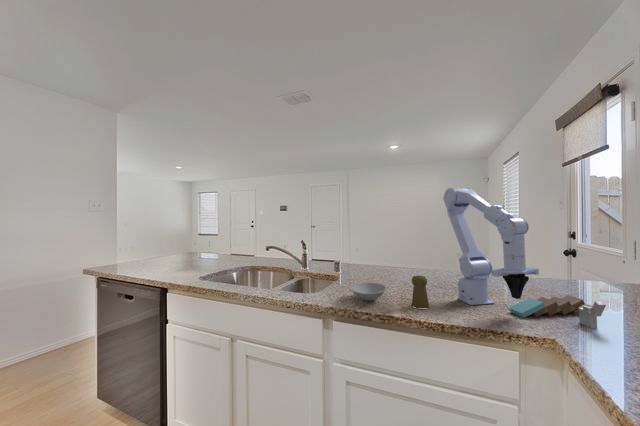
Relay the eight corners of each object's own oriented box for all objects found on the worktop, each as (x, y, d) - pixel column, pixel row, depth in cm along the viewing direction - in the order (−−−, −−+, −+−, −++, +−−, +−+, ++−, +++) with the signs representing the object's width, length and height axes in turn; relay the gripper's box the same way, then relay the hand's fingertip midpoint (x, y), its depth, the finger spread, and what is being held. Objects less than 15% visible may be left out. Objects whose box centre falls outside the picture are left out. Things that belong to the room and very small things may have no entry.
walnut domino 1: (534, 312, 85) (556, 301, 85) (521, 307, 90) (542, 297, 90) (536, 316, 85) (558, 306, 85) (523, 311, 90) (543, 301, 90)
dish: (385, 308, 97) (385, 294, 97) (346, 305, 101) (346, 292, 101) (389, 294, 114) (388, 282, 114) (355, 293, 118) (354, 281, 118)
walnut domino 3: (562, 310, 85) (582, 299, 86) (547, 305, 90) (567, 295, 91) (564, 315, 85) (584, 304, 86) (549, 310, 90) (569, 299, 91)
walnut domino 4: (574, 309, 86) (597, 307, 86) (559, 304, 91) (581, 302, 91) (575, 314, 86) (598, 312, 86) (559, 309, 91) (581, 307, 91)
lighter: (578, 322, 79) (577, 295, 80) (585, 322, 79) (584, 295, 79) (600, 332, 72) (598, 302, 73) (607, 332, 72) (606, 302, 72)
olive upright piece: (429, 304, 99) (428, 274, 99) (428, 310, 94) (427, 278, 94) (412, 303, 102) (411, 273, 102) (410, 308, 96) (409, 277, 96)
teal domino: (521, 313, 84) (543, 302, 85) (509, 307, 89) (529, 297, 90) (523, 317, 84) (545, 307, 85) (511, 312, 89) (531, 302, 90)
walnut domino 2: (547, 311, 85) (569, 301, 86) (534, 306, 90) (554, 296, 91) (549, 316, 85) (571, 305, 86) (535, 310, 90) (556, 300, 91)
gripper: (502, 258, 83) (504, 303, 82) (546, 256, 84) (548, 300, 83) (486, 255, 90) (488, 296, 89) (527, 253, 91) (529, 294, 90)
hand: (516, 297), depth 87 cm, fingers closed
